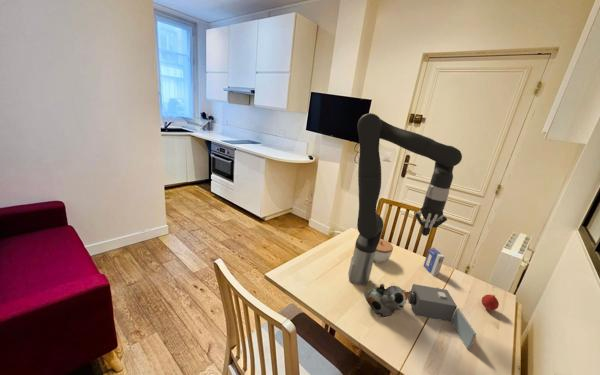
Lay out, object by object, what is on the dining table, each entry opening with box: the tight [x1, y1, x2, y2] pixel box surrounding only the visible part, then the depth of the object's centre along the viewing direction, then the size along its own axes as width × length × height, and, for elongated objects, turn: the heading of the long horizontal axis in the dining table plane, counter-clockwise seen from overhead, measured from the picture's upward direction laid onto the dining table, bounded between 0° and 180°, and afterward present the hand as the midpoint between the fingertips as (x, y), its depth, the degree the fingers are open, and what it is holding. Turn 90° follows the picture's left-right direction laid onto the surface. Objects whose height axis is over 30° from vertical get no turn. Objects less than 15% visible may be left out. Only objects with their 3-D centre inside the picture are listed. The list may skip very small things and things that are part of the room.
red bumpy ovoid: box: [481, 294, 500, 311], centre depth 106 cm, size 6×6×8 cm
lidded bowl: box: [373, 238, 394, 264], centre depth 133 cm, size 13×13×11 cm
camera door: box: [450, 307, 477, 350], centre depth 91 cm, size 12×2×7 cm, turn 176°
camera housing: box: [407, 283, 458, 323], centre depth 102 cm, size 16×9×9 cm, turn 83°
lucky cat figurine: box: [364, 283, 409, 318], centre depth 100 cm, size 15×12×14 cm
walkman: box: [423, 247, 445, 277], centre depth 127 cm, size 8×3×12 cm, turn 11°
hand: (424, 234), depth 104 cm, fingers closed
